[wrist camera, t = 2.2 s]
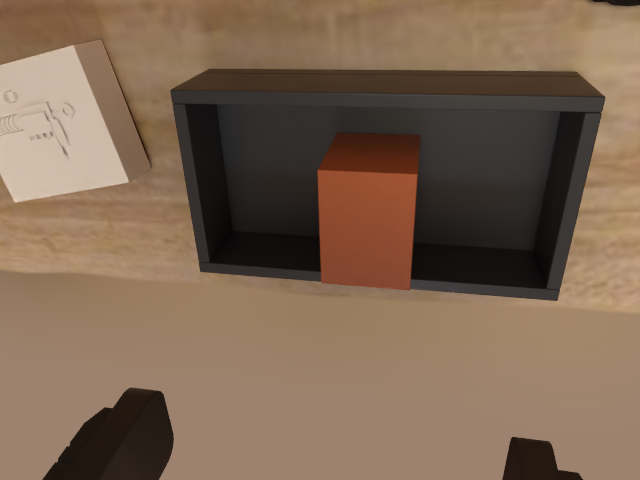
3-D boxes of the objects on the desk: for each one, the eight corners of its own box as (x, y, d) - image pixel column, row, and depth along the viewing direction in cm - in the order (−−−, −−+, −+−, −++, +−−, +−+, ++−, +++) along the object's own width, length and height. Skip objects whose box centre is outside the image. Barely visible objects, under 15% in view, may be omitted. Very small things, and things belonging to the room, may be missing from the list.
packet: (413, 236, 27) (409, 290, 23) (338, 231, 28) (320, 283, 24) (420, 134, 25) (417, 174, 20) (336, 132, 25) (317, 170, 21)
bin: (540, 251, 27) (557, 301, 24) (229, 230, 30) (199, 272, 27) (577, 71, 23) (606, 96, 19) (208, 68, 26) (169, 89, 22)
